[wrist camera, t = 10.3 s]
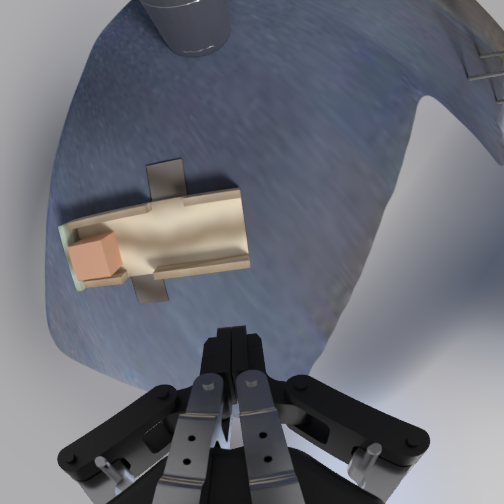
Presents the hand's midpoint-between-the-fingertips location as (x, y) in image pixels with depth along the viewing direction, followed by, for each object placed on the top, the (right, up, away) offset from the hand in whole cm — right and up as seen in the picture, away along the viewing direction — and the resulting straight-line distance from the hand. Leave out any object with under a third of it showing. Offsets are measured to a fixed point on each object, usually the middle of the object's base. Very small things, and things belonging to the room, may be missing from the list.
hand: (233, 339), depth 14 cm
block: (-21, +5, +22) cm, 31 cm away
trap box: (-13, +7, +23) cm, 27 cm away
